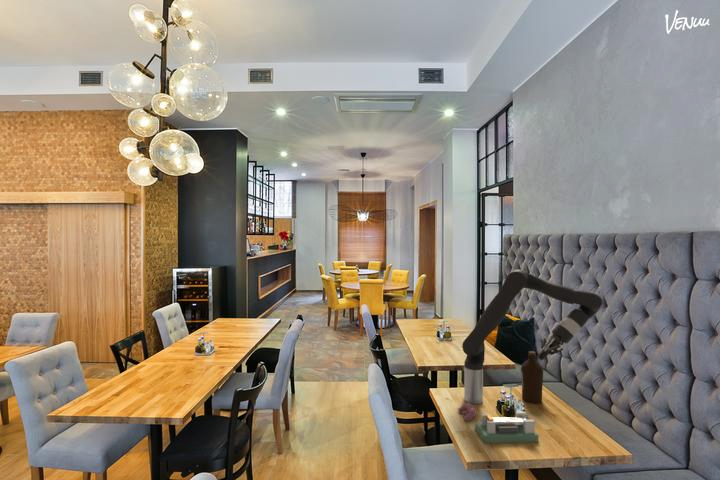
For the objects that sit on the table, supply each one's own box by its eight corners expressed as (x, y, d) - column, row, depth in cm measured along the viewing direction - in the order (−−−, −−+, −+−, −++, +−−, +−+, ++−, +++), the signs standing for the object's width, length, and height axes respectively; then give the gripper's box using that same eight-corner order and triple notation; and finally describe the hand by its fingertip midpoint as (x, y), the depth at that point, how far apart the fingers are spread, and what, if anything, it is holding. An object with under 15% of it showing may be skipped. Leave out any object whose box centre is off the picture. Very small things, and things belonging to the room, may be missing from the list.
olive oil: (544, 398, 193) (544, 351, 194) (541, 406, 185) (541, 356, 185) (523, 393, 200) (523, 347, 200) (518, 400, 191) (519, 352, 191)
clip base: (475, 429, 162) (475, 411, 162) (525, 428, 163) (525, 410, 163) (484, 442, 151) (484, 423, 151) (538, 442, 152) (538, 422, 152)
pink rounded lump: (472, 425, 168) (479, 411, 169) (463, 420, 168) (470, 407, 168) (465, 414, 178) (471, 402, 178) (457, 410, 178) (463, 397, 178)
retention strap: (485, 420, 159) (486, 414, 159) (524, 420, 159) (524, 414, 159) (490, 425, 154) (490, 419, 154) (529, 426, 155) (529, 420, 155)
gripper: (552, 321, 167) (525, 348, 167) (568, 327, 154) (540, 357, 153) (564, 332, 167) (537, 360, 167) (581, 339, 154) (553, 369, 153)
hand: (539, 358), depth 160 cm, fingers closed
